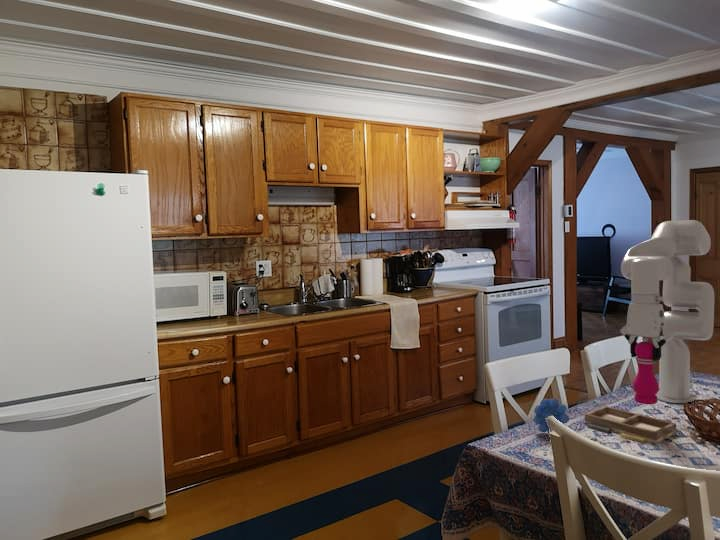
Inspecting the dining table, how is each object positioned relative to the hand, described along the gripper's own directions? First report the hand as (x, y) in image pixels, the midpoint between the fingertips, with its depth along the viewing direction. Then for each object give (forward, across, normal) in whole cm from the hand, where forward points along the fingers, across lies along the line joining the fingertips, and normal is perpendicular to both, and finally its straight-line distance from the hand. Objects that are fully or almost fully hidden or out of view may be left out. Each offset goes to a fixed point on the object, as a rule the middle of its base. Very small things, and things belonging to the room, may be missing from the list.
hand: (645, 357), depth 172 cm
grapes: (+24, +18, +21) cm, 37 cm away
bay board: (+23, +6, +1) cm, 24 cm away
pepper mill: (+14, 0, 0) cm, 14 cm away
